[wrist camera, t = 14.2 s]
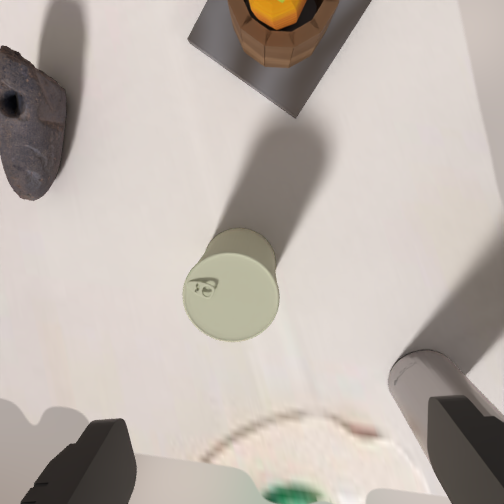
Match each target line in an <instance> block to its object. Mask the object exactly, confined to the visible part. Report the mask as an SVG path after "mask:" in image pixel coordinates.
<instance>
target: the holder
mask: <svg viewBox="0 0 504 504" xmlns="http://www.w3.org/2000/svg"><path fill="white" fill-rule="evenodd" d="M371 1H372V0H307V1H306V3H305V5H304V7H303V9H302V12H301V14H300V16H299V18H298V20H297V22H296V23H295V24H293V25H290V26H288V27H285V28H283V29H281V30H275V29H274V28H272V27H270V26H269V25H267V24H265V23H263V22H262V21H260V20H259V19H258V18H257V17H256V16H255V15H254V13H253V12H252V10H251V7H250V3H249V0H207V2H206V4H205V6H204V8H203V10H202V12H201V14H200V16H199V18H198V20H197V22H196V23H195V25H194V27H193V29H192V31H191V33H190V35H189V37H188V41H189V43H190V44H192V45H193V46H194V47H196V48H197V49H199V50H200V51H201V52H203V53H204V54H206V55H207V56H209V57H210V58H211V59H213V60H214V61H216V62H217V63H218V64H220V65H221V66H223V67H224V68H225V69H227V70H228V71H230V72H231V73H232V74H234V75H235V76H237V77H238V78H239V79H241V80H242V81H244V82H245V83H246V84H248V85H249V86H251V87H252V88H253V89H255V90H256V91H258V92H259V93H260V94H262V95H263V96H265V97H266V98H267V99H269V100H270V101H272V102H273V103H274V104H276V105H277V106H279V107H280V108H281V109H283V110H284V111H286V112H287V113H288V114H290V115H291V116H293V117H294V118H295V119H296V117H297V116H298V114H299V112H300V111H301V109H302V108H303V106H304V105H305V103H306V102H307V100H308V99H309V97H310V95H311V94H312V92H313V91H314V89H315V88H316V86H317V85H318V83H319V81H320V80H321V78H322V77H323V75H324V74H325V72H326V71H327V69H328V67H329V66H330V64H331V63H332V61H333V60H334V58H335V57H336V55H337V53H338V52H339V50H340V49H341V47H342V46H343V44H344V43H345V41H346V40H347V38H348V36H349V35H350V33H351V32H352V30H353V29H354V27H355V26H356V24H357V22H358V21H359V19H360V18H361V16H362V15H363V13H364V12H365V10H366V8H367V7H368V5H369V4H370V2H371Z"/></svg>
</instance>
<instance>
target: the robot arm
mask: <svg viewBox="0 0 504 504" xmlns="http://www.w3.org/2000/svg"><path fill="white" fill-rule="evenodd" d="M388 386H389V390H390V392H391V394H392V396H393V398H394V400H395V401H396V403H397V405H398V407H399V408H400V410H401V412H402V414H403V416H404V418H405V419H406V421H407V423H408V425H409V427H410V428H411V430H412V432H413V434H414V435H415V437H416V439H417V441H418V442H419V444H420V446H421V448H422V450H423V451H424V453H425V455H426V457H427V458H428V460H429V462H430V464H431V466H432V468H433V470H434V472H435V474H436V476H437V478H438V480H439V482H440V483H441V485H442V487H443V489H444V491H445V492H446V494H447V496H448V498H449V499H450V501H451V503H452V504H504V415H503V414H502V413H501V412H500V411H499V410H498V409H497V408H496V407H495V406H494V405H493V404H492V403H491V402H490V401H489V400H488V399H487V398H486V397H485V395H484V394H483V393H482V392H481V391H480V390H479V389H478V388H477V387H476V386H475V385H474V384H473V383H472V382H471V381H470V380H469V379H468V378H467V377H466V376H465V375H464V374H463V373H462V372H461V371H460V370H459V369H458V368H457V367H456V366H455V364H454V363H453V362H452V361H451V360H450V359H449V358H447V357H446V356H445V355H443V354H441V353H438V352H435V351H429V350H426V351H417V352H413V353H411V354H408V355H406V356H405V357H403V358H401V359H400V360H399V361H398V362H397V363H396V364H395V365H394V367H393V368H392V370H391V372H390V374H389V379H388ZM136 467H137V466H136V460H135V456H134V453H133V449H132V445H131V441H130V437H129V433H128V430H127V426H126V423H125V421H124V420H123V419H121V418H119V419H105V420H94V421H92V422H91V423H90V424H89V425H88V426H87V428H86V429H85V431H84V432H83V433H82V435H81V436H80V438H79V439H78V441H77V442H76V443H75V444H69V446H67V447H66V448H65V449H64V450H63V451H62V452H60V453H59V454H58V455H57V456H56V457H55V458H54V459H53V460H51V461H50V462H49V464H48V465H47V466H46V468H45V469H44V471H43V472H42V473H41V475H40V476H39V477H38V479H37V480H36V482H35V483H34V487H33V488H30V490H29V491H28V493H27V494H26V496H25V497H24V498H23V499H22V501H21V504H128V502H129V500H130V497H131V494H132V492H133V489H134V486H135V481H136V473H137V471H136V470H137V468H136Z"/></svg>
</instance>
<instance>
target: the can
mask: <svg viewBox="0 0 504 504" xmlns="http://www.w3.org/2000/svg"><path fill="white" fill-rule="evenodd" d="M275 267H276V259H275V254H274V251H273V249H272V247H271V245H270V244H269V243H268V241H267V240H266V239H265V238H264V237H263V236H261V235H260V234H258V233H257V232H255V231H252V230H249V229H244V228H234V229H229V230H226V231H224V232H222V233H220V234H218V235H217V236H216V237H214V238H213V239H212V241H211V242H210V243H209V245H208V246H207V249H206V251H205V253H204V255H203V256H202V257H201V259H200V260H199V262H198V263H197V264H196V265H195V266H194V267H193V268H192V269H191V271H190V272H189V274H188V276H187V278H186V280H185V283H184V287H183V304H184V308H185V311H186V313H187V315H188V317H189V319H190V320H191V322H192V323H193V324H194V325H195V326H196V327H197V328H198V329H199V330H200V331H201V332H202V333H204V334H206V335H207V336H209V337H211V338H214V339H216V340H220V341H225V342H240V341H245V340H248V339H251V338H253V337H256V336H257V335H259V334H260V333H262V332H263V331H264V330H266V329H267V328H268V327H269V325H270V324H271V323H272V321H273V320H274V318H275V316H276V314H277V311H278V307H279V299H280V297H279V289H278V285H277V280H276V273H275Z"/></svg>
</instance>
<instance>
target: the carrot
mask: <svg viewBox="0 0 504 504" xmlns="http://www.w3.org/2000/svg"><path fill="white" fill-rule="evenodd" d="M306 1H307V0H249V3H250V7H251V10H252V12H253V13H254V15H255V16H256V17H257V18H258V19H259V20H260V21H262V22H263V23H265V24H267V25H269V26H270V27H272V28H274V29H275V30H281V29H283V28H285V27H288V26H290V25H293V24H295V23H296V22H297V20H298V18H299V16H300V14H301V12H302V9H303V7H304V5H305V3H306Z"/></svg>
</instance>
